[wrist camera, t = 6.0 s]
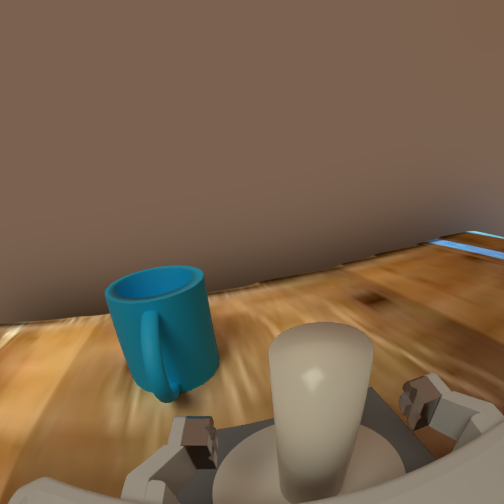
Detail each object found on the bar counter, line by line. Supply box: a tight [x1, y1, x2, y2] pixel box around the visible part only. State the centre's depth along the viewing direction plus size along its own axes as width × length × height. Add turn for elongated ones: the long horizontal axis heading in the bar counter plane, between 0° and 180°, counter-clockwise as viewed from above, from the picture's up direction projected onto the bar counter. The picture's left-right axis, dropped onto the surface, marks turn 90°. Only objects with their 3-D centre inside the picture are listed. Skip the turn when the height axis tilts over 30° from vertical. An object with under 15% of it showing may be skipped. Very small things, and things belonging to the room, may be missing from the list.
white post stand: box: [212, 322, 406, 504], centre depth 9 cm, size 10×10×10 cm
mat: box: [176, 387, 437, 504], centre depth 11 cm, size 14×12×1 cm
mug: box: [105, 266, 219, 403], centre depth 21 cm, size 12×8×8 cm
